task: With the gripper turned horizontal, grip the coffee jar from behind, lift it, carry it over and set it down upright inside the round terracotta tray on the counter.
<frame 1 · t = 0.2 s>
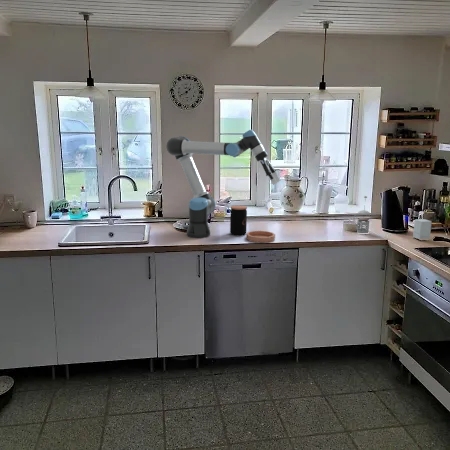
hand: (277, 182, 271), 35 cm above the worktop, tool tilted 35°, fingers open, 13 cm apart
french press: (360, 232, 292), on the worktop
supplement box: (420, 239, 277), on the worktop
coffee jar: (238, 234, 283), on the worktop
round tray: (260, 238, 272), on the worktop
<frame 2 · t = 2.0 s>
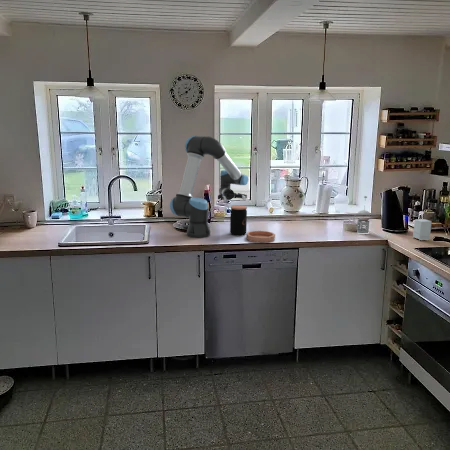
hand: (235, 198, 289), 21 cm above the worktop, tool horizontal, fingers open, 13 cm apart
nothing on the worktop moved.
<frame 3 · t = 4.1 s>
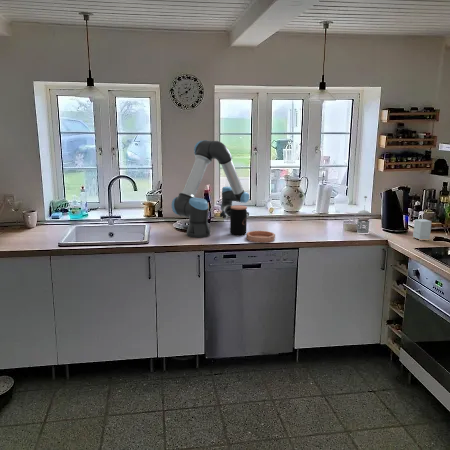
hand: (237, 217, 287), 10 cm above the worktop, tool horizontal, fingers open, 13 cm apart
nothing on the worktop moved.
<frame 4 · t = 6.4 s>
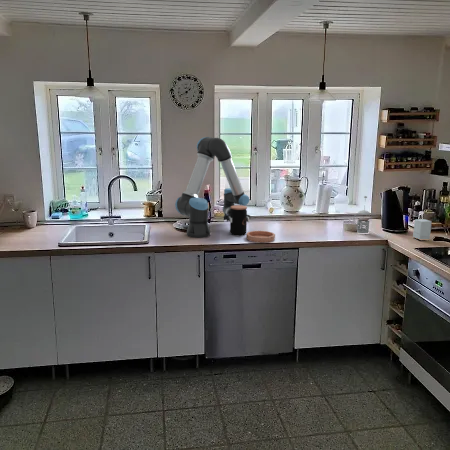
hand: (240, 220, 277), 10 cm above the worktop, tool horizontal, fingers closed on coffee jar, 11 cm apart
coffee jar: (238, 234, 283), on the worktop, touching gripper
everything else where it was.
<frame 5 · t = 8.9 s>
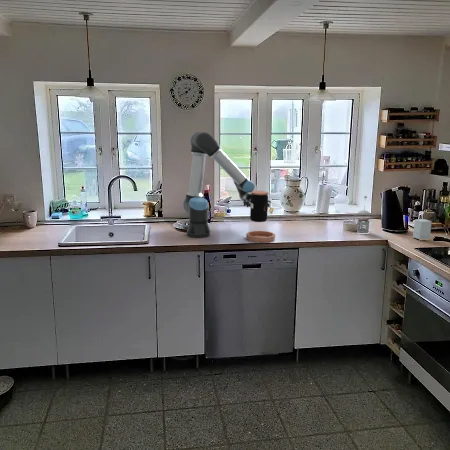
hand: (261, 206, 267), 21 cm above the worktop, tool horizontal, fingers closed on coffee jar, 11 cm apart
coffee jar: (258, 220, 274), point 11 cm above the worktop, touching gripper
everything else where it was.
when the fingers open (12 cm above the worktop, at t = 11.7 s): coffee jar drops 1 cm, resting on round tray.
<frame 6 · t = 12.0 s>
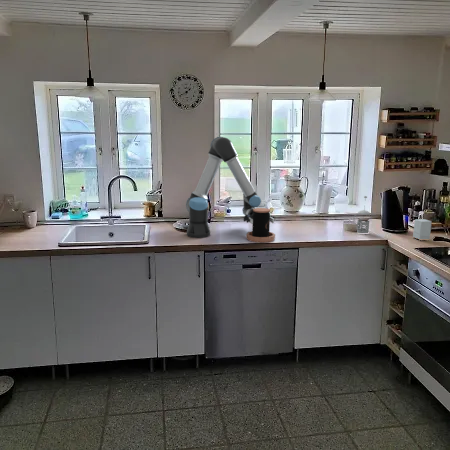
hand: (262, 221, 266), 12 cm above the worktop, tool horizontal, fingers open, 13 cm apart
coffee jar: (260, 238, 272), resting on round tray
everything else where it was.
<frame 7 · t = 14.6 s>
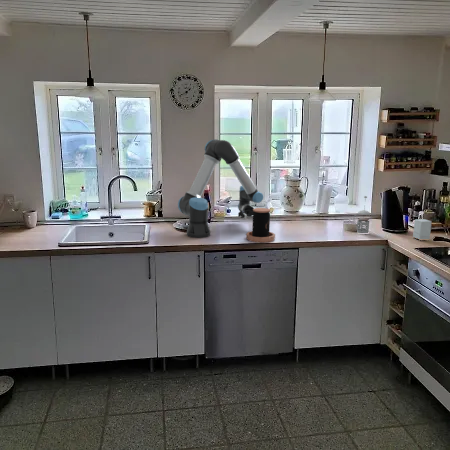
hand: (256, 216, 279), 12 cm above the worktop, tool horizontal, fingers open, 13 cm apart
nothing on the worktop moved.
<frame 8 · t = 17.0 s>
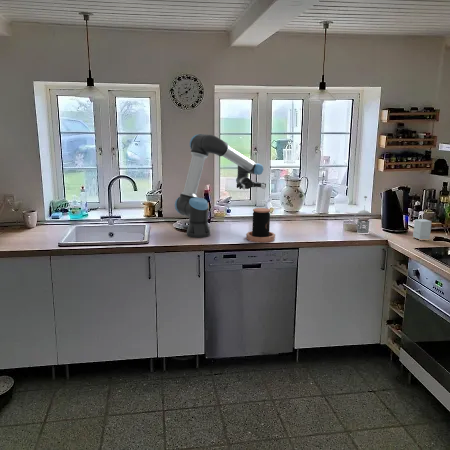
hand: (254, 187, 281), 30 cm above the worktop, tool horizontal, fingers open, 13 cm apart
nothing on the worktop moved.
at the end: coffee jar 0.1 cm off-centre on the round tray, point 0.4 cm above the round tray's base; coffee jar tilted 0°; the gripper is holding nothing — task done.
